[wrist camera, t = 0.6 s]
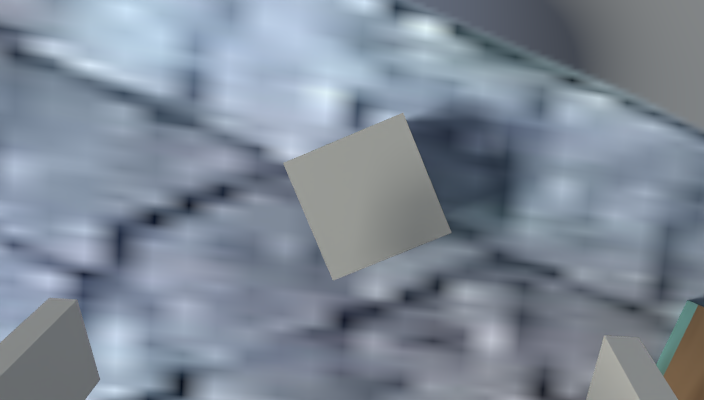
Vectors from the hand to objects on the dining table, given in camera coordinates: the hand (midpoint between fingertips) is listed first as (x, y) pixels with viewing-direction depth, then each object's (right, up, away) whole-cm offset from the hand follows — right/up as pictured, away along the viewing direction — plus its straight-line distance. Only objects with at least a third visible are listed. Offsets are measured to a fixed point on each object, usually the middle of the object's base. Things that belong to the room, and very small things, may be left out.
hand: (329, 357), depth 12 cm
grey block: (+1, +5, +16) cm, 17 cm away
